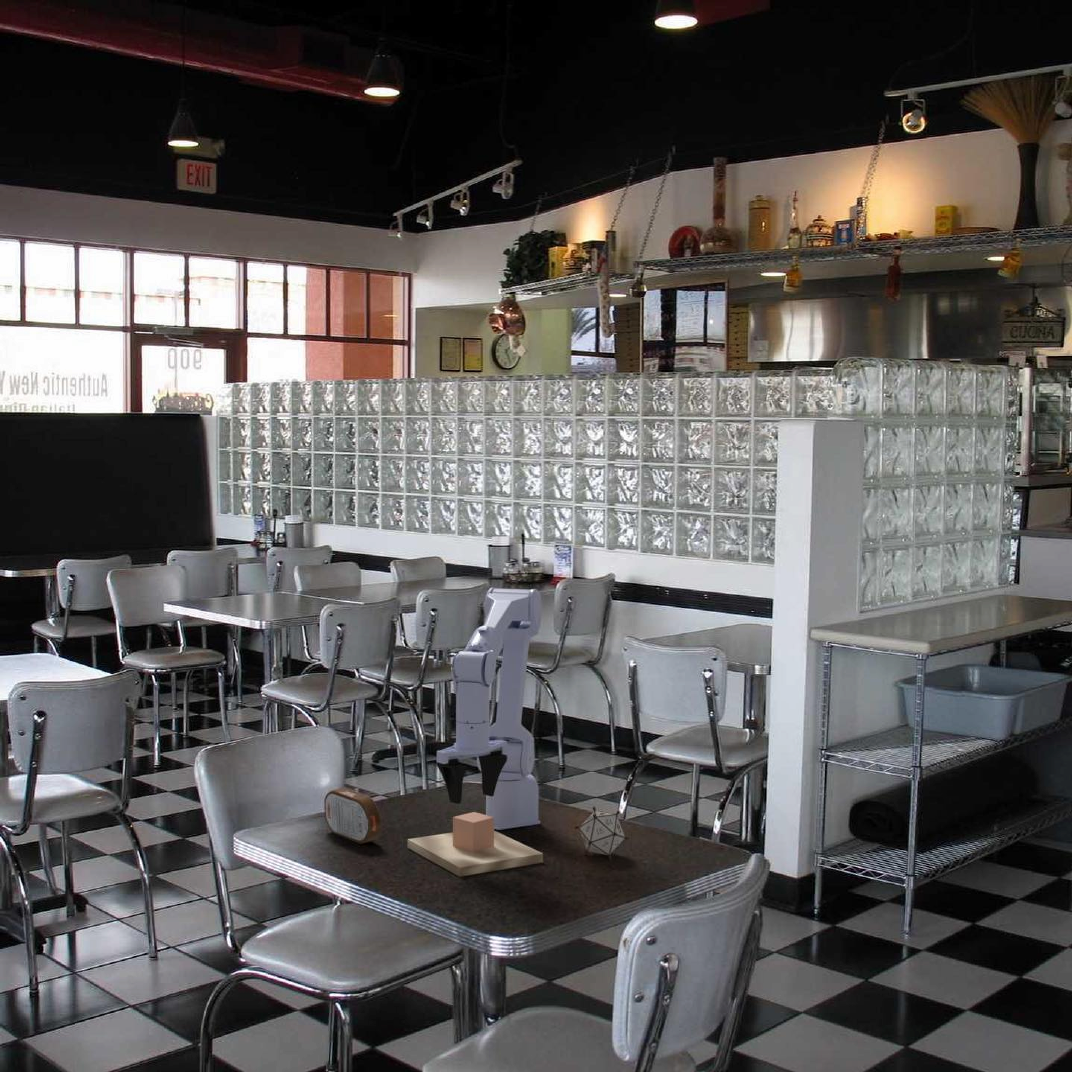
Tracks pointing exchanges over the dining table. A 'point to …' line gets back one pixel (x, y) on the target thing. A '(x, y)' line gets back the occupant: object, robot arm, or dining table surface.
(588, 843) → the game die
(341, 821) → the tin
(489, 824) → the terracotta cube
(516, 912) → the dining table surface
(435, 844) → the maple board
